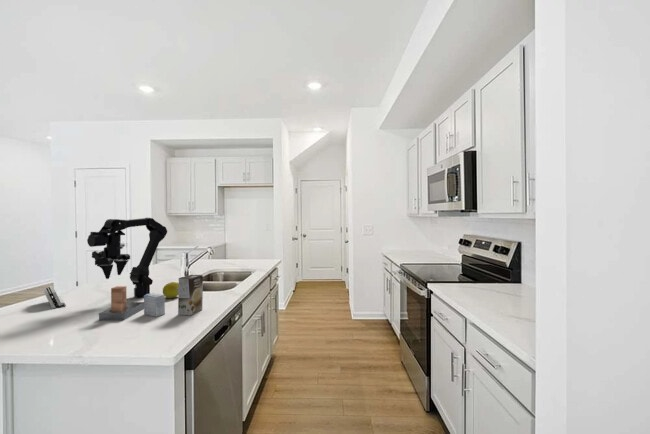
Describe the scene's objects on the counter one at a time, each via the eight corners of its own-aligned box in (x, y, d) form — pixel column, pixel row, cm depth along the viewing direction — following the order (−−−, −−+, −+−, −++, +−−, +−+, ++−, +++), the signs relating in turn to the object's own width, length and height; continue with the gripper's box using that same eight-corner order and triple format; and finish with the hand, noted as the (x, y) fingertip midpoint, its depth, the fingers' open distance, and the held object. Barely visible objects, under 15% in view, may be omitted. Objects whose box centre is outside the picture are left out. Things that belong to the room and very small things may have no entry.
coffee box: (190, 315, 137) (190, 278, 137) (177, 314, 138) (177, 278, 138) (203, 309, 146) (203, 274, 146) (190, 308, 147) (190, 274, 147)
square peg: (116, 315, 137) (116, 286, 137) (126, 314, 137) (126, 286, 137) (111, 318, 133) (111, 288, 133) (120, 318, 133) (121, 288, 133)
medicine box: (165, 314, 139) (165, 294, 139) (155, 317, 135) (156, 297, 135) (152, 311, 142) (153, 292, 142) (143, 314, 138) (143, 294, 138)
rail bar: (121, 308, 146) (121, 302, 146) (144, 308, 147) (144, 302, 147) (98, 320, 130) (98, 313, 130) (124, 320, 131) (124, 312, 131)
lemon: (167, 301, 160) (167, 285, 160) (158, 298, 164) (158, 283, 164) (186, 296, 169) (186, 281, 169) (177, 294, 173) (177, 279, 173)
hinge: (66, 306, 149) (57, 287, 146) (53, 311, 146) (44, 292, 143) (62, 299, 161) (53, 281, 158) (50, 304, 158) (41, 286, 155)
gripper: (108, 243, 163) (108, 273, 163) (82, 246, 144) (82, 281, 144) (130, 243, 163) (130, 273, 164) (108, 246, 145) (107, 281, 145)
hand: (113, 276), depth 154 cm, fingers open, 9 cm apart
